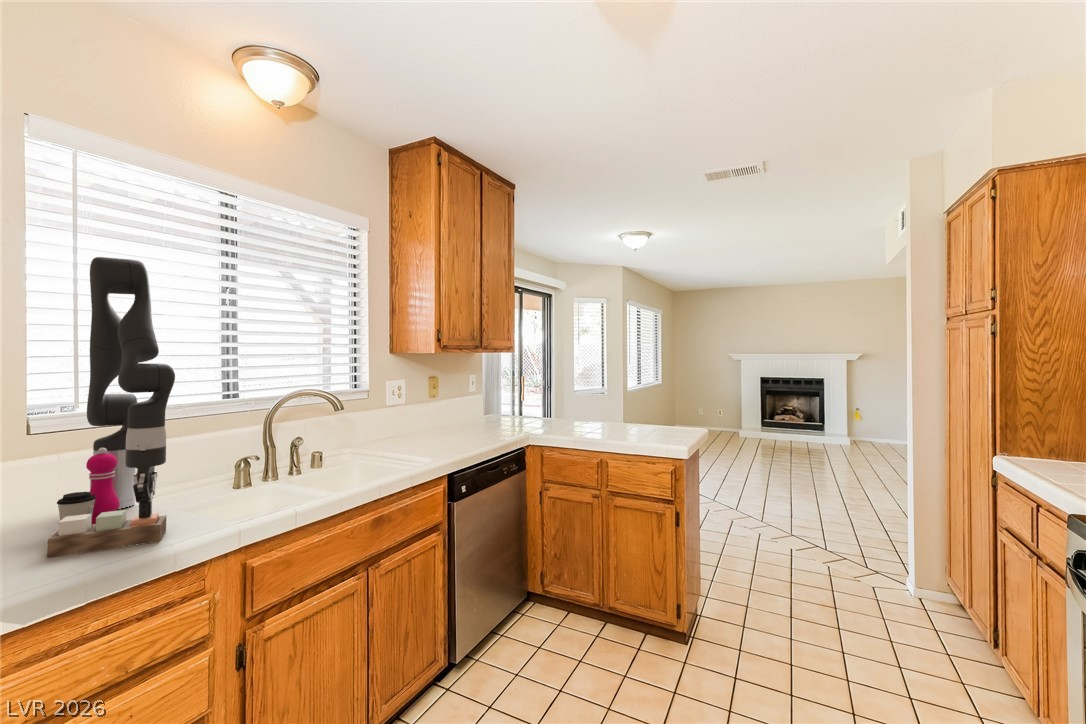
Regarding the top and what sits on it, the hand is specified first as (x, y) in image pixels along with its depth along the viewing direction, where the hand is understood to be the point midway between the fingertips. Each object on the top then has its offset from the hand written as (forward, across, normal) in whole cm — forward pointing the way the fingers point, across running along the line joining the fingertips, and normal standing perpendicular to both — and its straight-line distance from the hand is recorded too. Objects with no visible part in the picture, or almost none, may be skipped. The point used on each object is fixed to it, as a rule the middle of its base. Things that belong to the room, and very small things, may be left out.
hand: (145, 517), depth 114 cm
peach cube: (+4, 0, 0) cm, 4 cm away
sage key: (+3, 0, -6) cm, 7 cm away
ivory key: (+3, 0, -12) cm, 13 cm away
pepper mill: (+5, -20, -12) cm, 24 cm away
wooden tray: (+5, 0, -6) cm, 8 cm away
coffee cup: (+5, -11, -15) cm, 20 cm away
